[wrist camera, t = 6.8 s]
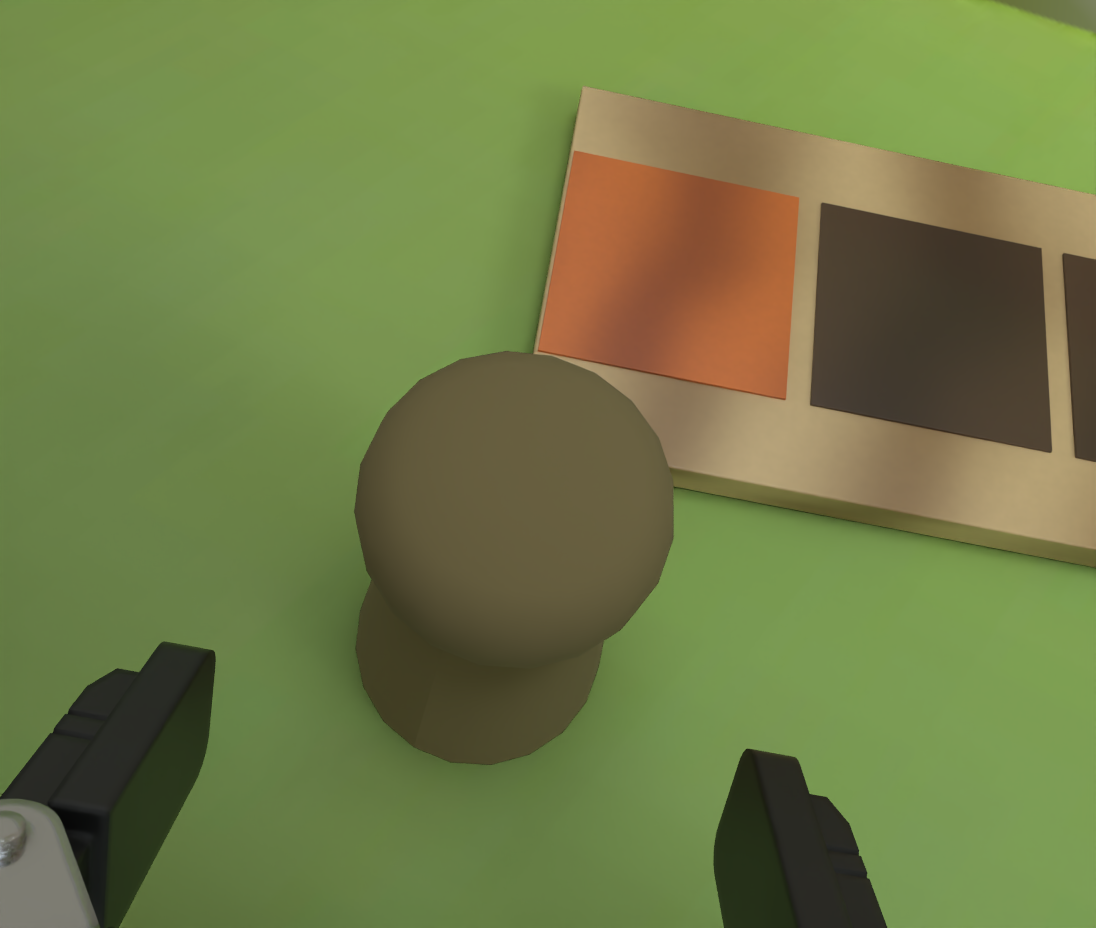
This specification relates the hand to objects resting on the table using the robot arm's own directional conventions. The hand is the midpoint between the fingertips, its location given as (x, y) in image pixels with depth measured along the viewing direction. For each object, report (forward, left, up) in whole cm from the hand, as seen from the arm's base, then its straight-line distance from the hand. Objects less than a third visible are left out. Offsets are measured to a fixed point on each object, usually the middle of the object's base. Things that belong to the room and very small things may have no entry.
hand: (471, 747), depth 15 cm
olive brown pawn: (0, +4, -9) cm, 10 cm away
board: (+11, +15, -9) cm, 21 cm away
